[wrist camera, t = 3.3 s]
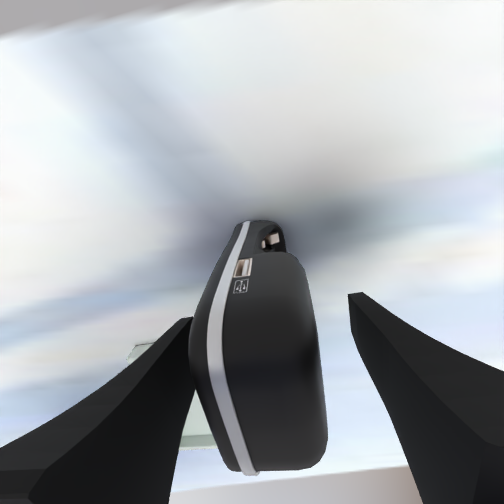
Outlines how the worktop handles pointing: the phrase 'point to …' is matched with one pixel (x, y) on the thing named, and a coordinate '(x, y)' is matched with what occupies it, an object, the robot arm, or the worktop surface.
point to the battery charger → (259, 356)
